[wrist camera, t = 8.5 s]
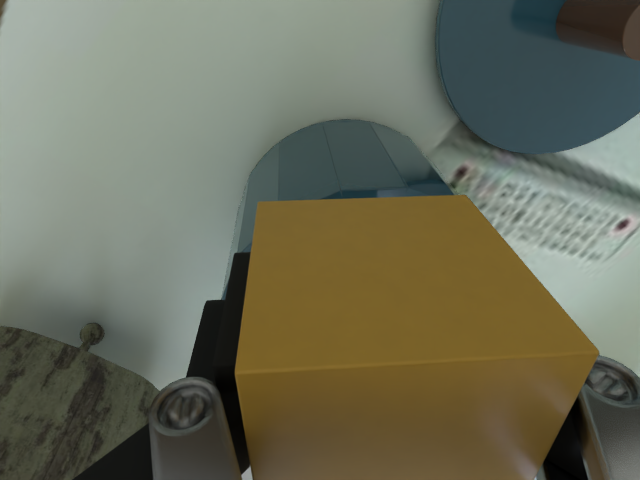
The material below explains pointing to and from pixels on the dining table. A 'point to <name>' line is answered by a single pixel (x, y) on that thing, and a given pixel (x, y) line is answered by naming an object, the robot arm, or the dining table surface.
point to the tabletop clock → (63, 405)
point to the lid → (540, 69)
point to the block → (399, 345)
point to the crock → (335, 171)
